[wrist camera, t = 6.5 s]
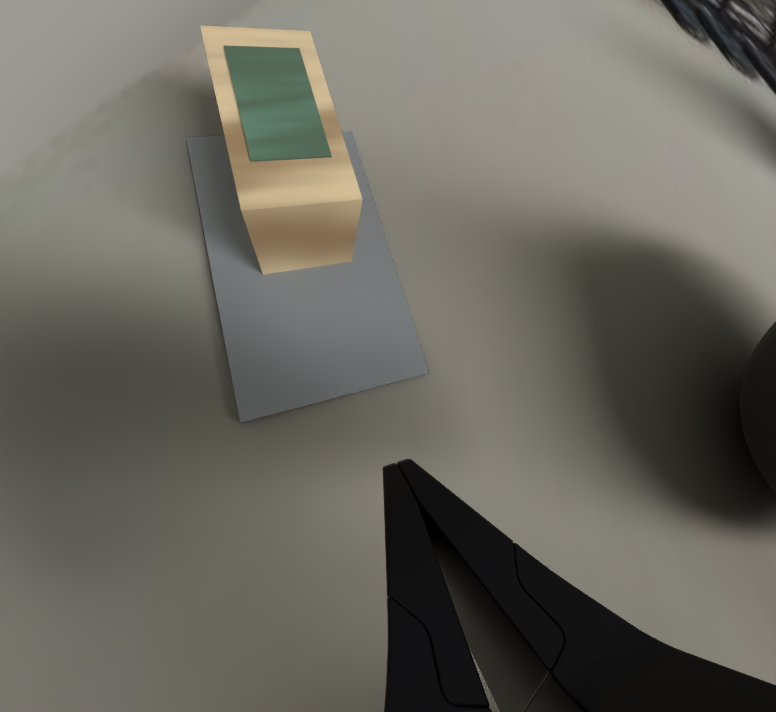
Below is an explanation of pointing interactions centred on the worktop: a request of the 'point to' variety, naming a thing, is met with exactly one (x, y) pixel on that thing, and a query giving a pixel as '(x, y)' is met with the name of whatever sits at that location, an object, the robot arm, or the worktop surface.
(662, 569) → the worktop surface
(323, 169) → the letter block
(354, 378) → the slate mat
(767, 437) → the coal bowl
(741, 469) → the worktop surface
